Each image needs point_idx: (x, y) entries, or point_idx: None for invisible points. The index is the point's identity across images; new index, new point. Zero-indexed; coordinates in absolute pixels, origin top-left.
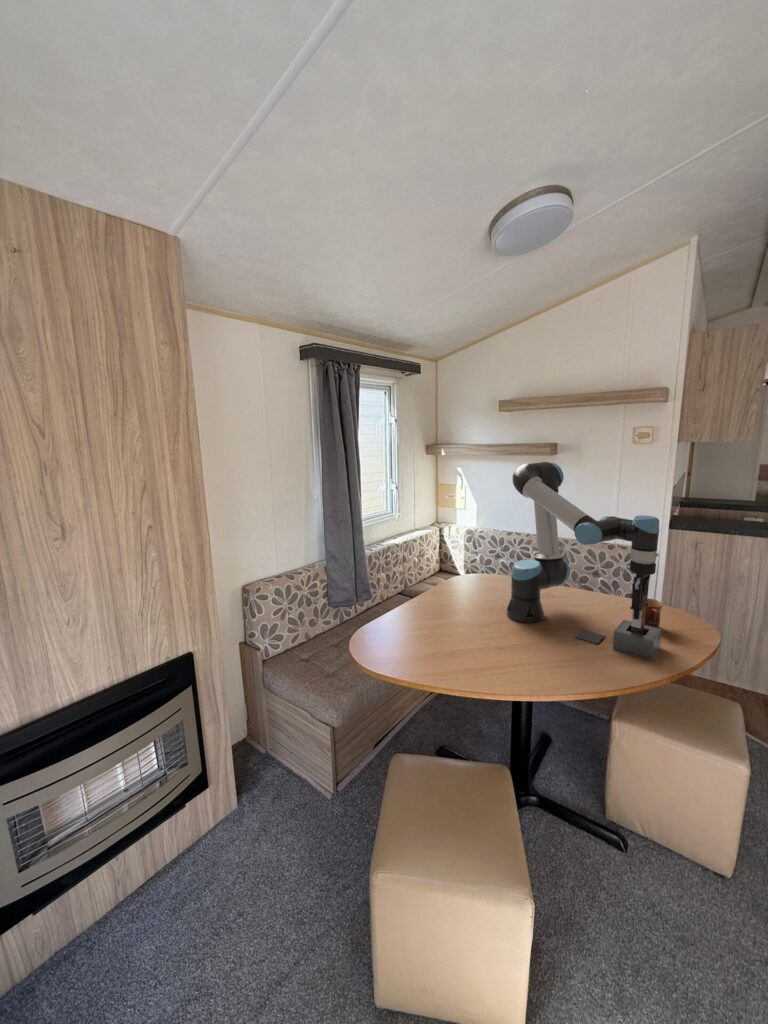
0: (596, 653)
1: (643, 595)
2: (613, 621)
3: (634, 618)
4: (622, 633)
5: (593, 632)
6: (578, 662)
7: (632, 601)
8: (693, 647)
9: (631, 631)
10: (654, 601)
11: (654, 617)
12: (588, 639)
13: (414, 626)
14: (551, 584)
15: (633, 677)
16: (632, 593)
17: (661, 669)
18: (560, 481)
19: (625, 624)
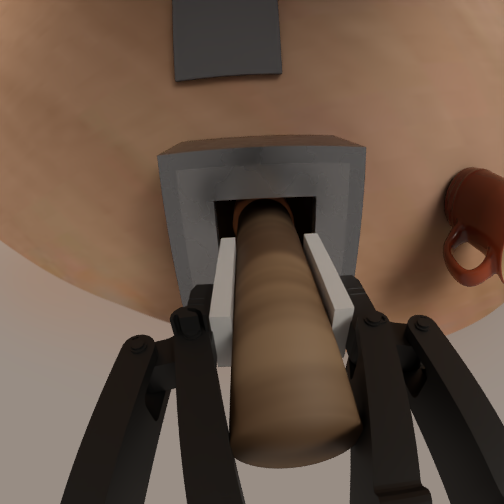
0: (104, 115)
1: (315, 454)
2: (451, 82)
3: (195, 291)
4: (163, 200)
5: (277, 28)
6: (19, 116)
7: (101, 404)
8: None
9: (249, 216)
10: None
11: (475, 243)
12: (184, 39)
13: None
14: None
15: (65, 260)
16: (69, 482)
17: (167, 303)
18: None
19: (300, 173)
